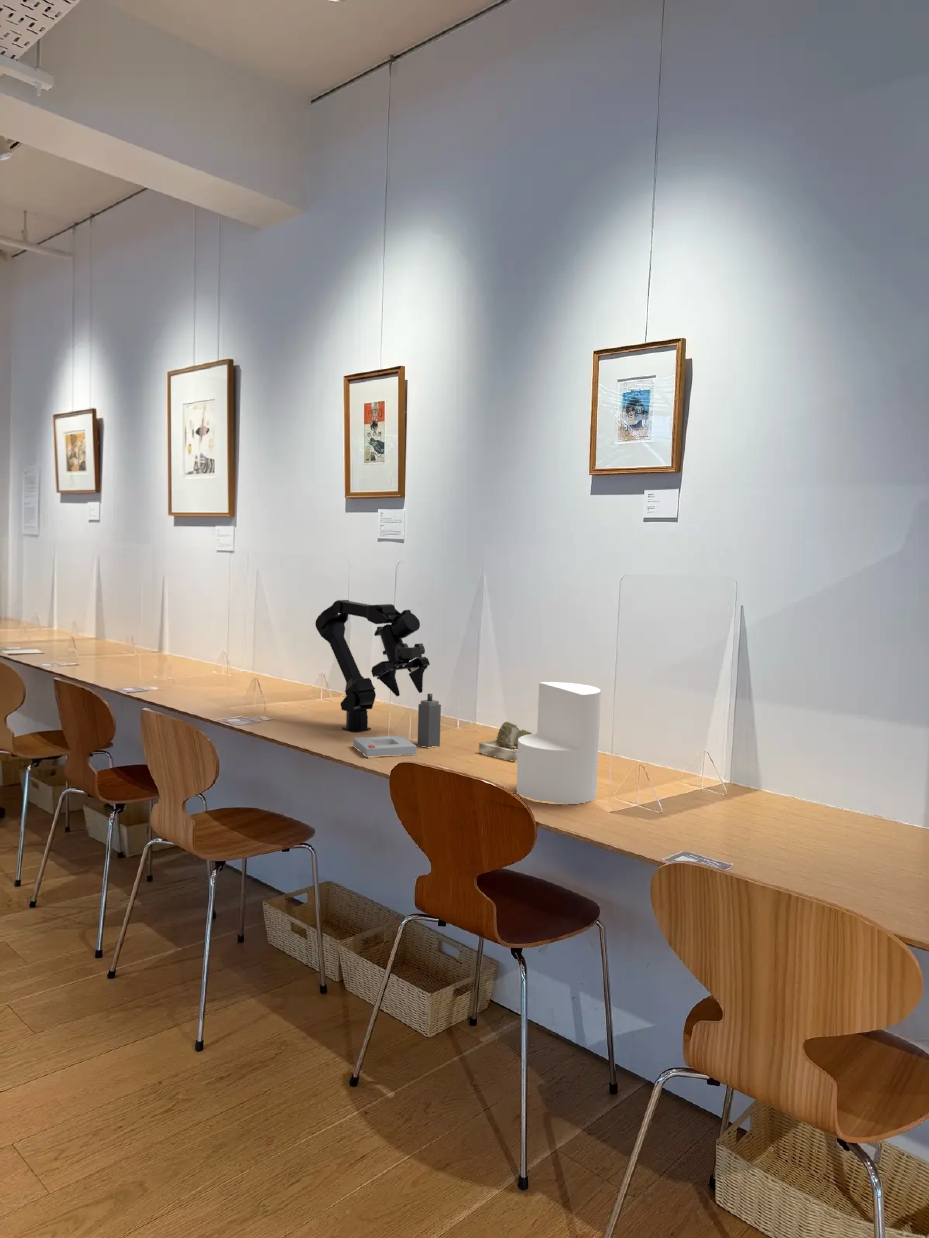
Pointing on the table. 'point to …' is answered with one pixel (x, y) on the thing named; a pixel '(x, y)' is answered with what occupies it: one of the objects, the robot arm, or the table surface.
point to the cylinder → (562, 745)
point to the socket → (385, 746)
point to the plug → (429, 722)
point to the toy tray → (498, 750)
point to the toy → (510, 735)
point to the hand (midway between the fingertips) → (409, 694)
